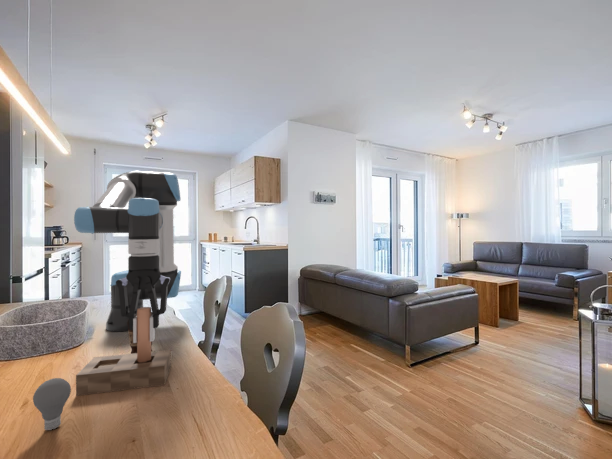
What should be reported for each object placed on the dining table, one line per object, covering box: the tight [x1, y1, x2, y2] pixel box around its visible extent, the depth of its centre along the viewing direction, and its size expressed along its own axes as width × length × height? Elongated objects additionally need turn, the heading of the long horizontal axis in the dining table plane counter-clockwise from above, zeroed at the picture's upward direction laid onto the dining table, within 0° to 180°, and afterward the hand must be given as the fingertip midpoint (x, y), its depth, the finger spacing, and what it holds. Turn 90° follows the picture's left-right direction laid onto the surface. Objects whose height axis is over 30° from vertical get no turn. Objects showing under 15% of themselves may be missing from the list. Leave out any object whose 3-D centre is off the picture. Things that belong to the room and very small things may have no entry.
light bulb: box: [32, 377, 72, 431], centre depth 63 cm, size 6×6×10 cm
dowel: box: [137, 306, 152, 362], centre depth 84 cm, size 3×3×14 cm
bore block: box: [75, 349, 172, 397], centre depth 84 cm, size 11×20×5 cm, turn 105°
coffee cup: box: [127, 311, 154, 354], centre depth 101 cm, size 9×8×13 cm
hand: (144, 340), depth 84 cm, fingers closed on dowel, 3 cm apart
